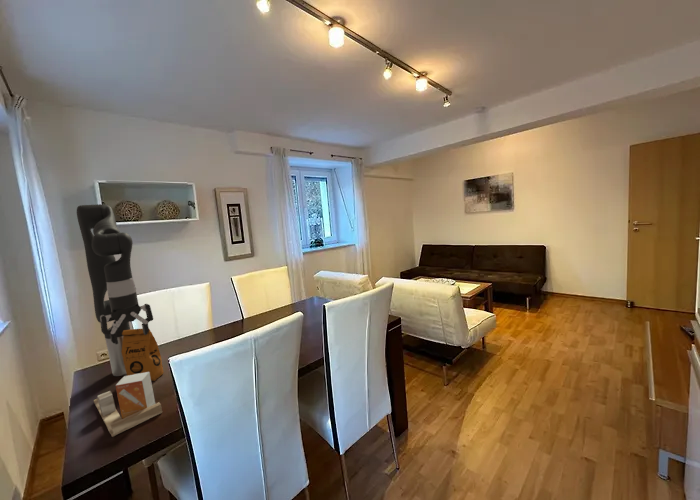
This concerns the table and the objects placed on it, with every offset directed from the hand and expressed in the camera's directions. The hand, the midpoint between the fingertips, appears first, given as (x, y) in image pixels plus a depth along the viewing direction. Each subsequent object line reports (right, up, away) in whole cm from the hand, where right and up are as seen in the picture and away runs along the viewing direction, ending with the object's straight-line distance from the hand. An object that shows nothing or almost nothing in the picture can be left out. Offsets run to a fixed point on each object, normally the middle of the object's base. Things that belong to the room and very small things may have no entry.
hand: (131, 338), depth 105 cm
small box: (+2, -26, +1) cm, 26 cm away
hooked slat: (-5, -26, +5) cm, 27 cm away
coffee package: (-11, -24, +25) cm, 36 cm away
